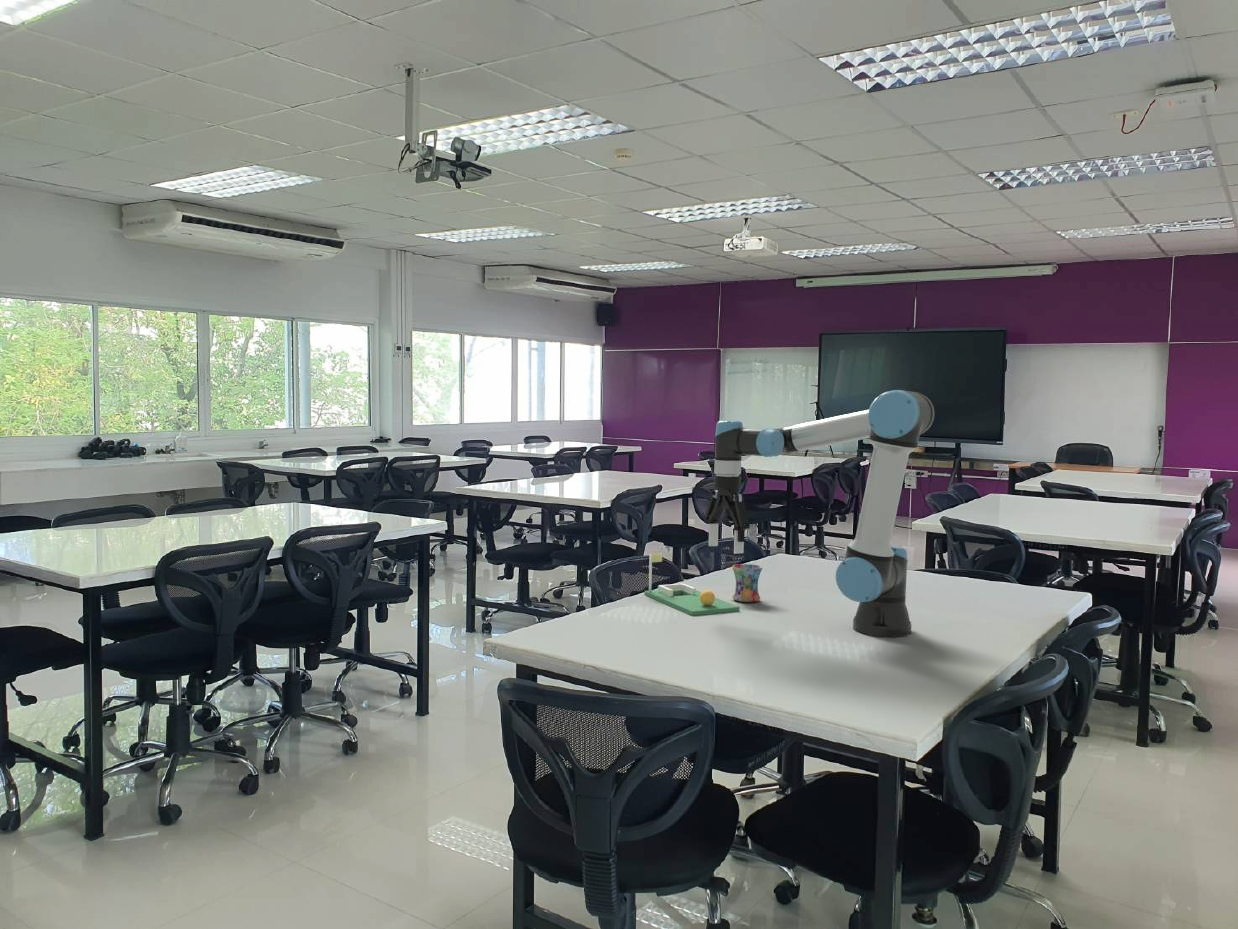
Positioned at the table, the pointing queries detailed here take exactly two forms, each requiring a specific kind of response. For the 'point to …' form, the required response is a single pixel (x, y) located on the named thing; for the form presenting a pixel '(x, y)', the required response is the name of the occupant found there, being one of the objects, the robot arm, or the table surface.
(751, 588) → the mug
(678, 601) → the green
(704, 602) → the ball
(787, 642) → the table surface
